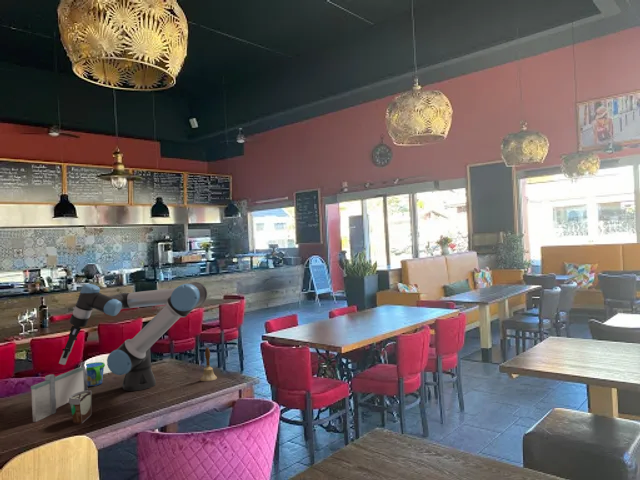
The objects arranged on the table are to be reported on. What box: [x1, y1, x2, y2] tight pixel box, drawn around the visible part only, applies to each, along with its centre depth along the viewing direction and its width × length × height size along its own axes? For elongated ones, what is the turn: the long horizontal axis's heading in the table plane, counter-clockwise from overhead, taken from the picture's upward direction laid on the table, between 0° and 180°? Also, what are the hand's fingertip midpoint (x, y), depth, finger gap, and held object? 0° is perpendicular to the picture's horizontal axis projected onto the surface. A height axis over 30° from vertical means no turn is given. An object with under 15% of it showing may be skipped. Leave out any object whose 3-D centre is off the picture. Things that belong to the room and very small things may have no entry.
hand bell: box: [199, 347, 218, 382], centre depth 239 cm, size 8×8×16 cm
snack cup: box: [86, 361, 106, 387], centre depth 241 cm, size 16×10×10 cm
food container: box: [68, 390, 93, 425], centre depth 190 cm, size 12×6×10 cm, turn 5°
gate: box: [55, 366, 84, 409], centre depth 210 cm, size 2×18×13 cm, turn 170°
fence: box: [30, 361, 89, 423], centre depth 206 cm, size 2×32×16 cm, turn 170°
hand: (64, 358), depth 222 cm, fingers open, 13 cm apart
